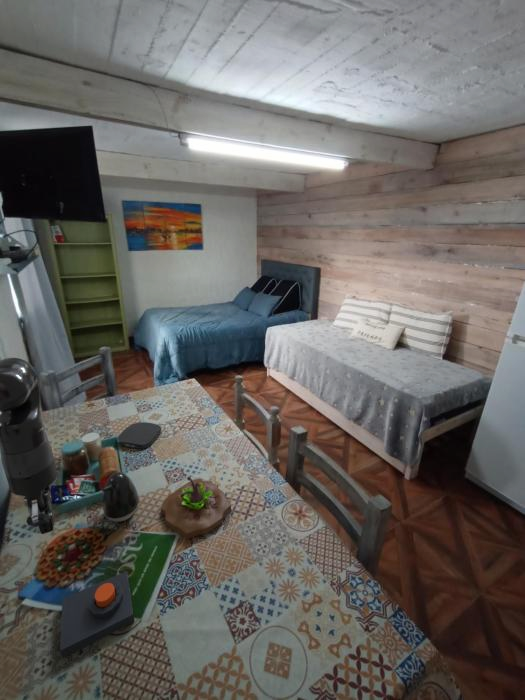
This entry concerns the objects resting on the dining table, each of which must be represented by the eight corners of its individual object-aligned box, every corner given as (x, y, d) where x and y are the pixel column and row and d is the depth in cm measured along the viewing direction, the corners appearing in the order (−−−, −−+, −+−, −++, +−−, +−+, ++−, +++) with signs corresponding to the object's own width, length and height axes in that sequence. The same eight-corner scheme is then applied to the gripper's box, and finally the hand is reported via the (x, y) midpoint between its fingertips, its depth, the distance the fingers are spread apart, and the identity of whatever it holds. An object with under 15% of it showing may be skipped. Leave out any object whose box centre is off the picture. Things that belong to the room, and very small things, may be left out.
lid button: (96, 611, 70) (95, 605, 69) (95, 593, 73) (94, 587, 72) (116, 601, 71) (114, 595, 71) (114, 585, 75) (113, 579, 74)
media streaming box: (164, 429, 140) (163, 424, 139) (147, 450, 127) (146, 444, 126) (134, 425, 142) (133, 420, 141) (114, 446, 129) (113, 439, 128)
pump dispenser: (96, 521, 95) (88, 482, 90) (122, 496, 105) (115, 459, 99) (123, 532, 92) (116, 492, 87) (147, 505, 101) (142, 467, 96)
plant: (188, 550, 88) (186, 520, 84) (152, 510, 100) (148, 482, 96) (241, 508, 101) (240, 480, 98) (203, 477, 114) (202, 451, 110)
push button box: (62, 658, 65) (58, 645, 63) (64, 606, 74) (60, 593, 72) (134, 622, 71) (132, 609, 70) (128, 577, 80) (126, 565, 79)
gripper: (11, 447, 63) (30, 513, 69) (-4, 493, 52) (20, 566, 58) (55, 437, 67) (69, 501, 73) (50, 478, 56) (67, 549, 62)
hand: (47, 530), depth 65 cm, fingers closed
